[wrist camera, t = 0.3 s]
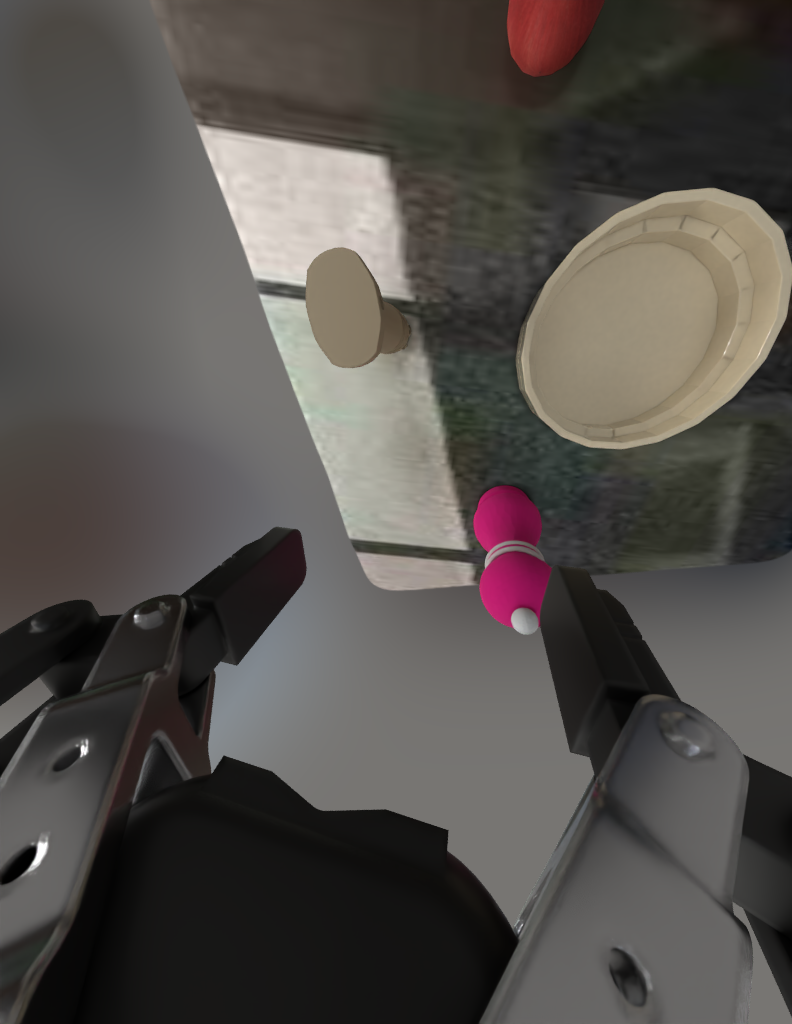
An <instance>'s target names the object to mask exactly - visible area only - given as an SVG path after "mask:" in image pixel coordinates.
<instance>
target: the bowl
mask: <svg viewBox="0 0 792 1024" xmlns="http://www.w3.org/2000/svg"><path fill="white" fill-rule="evenodd" d="M791 286H792V263H791V259H790V255H789V251H788V248H787V244H786V240H785V236H784V232H783V230H782V229H781V228H780V227H779V226H778V225H777V224H776V223H775V222H774V220H773V219H772V218H771V217H770V216H769V215H768V214H767V213H766V212H765V211H764V210H763V209H762V208H761V207H760V206H759V205H758V204H757V202H754V200H751V199H747V198H744V197H741V196H738V195H735V194H732V193H729V192H726V191H722V190H719V189H716V188H704V189H694V190H683V191H673V192H665V193H662V194H659V195H657V196H655V197H653V198H650V199H648V200H646V201H643V202H641V203H639V204H636V205H634V206H632V207H629V208H627V209H625V210H622V211H620V212H618V213H617V214H615V215H614V216H612V217H611V218H610V219H608V220H607V221H606V222H605V223H603V224H602V225H601V226H599V227H598V228H597V229H596V230H594V231H593V232H592V233H590V234H589V235H588V236H587V237H585V238H584V239H583V240H582V241H580V242H579V243H578V244H577V245H576V246H575V247H574V248H573V249H572V250H571V252H570V253H569V254H568V255H567V257H566V258H565V259H564V260H563V262H562V263H561V264H560V265H559V267H558V268H557V269H556V270H555V272H554V273H553V274H552V275H551V277H550V278H549V279H548V280H547V282H546V283H545V284H544V285H543V287H542V288H541V289H540V290H539V292H538V293H537V294H536V296H535V298H534V300H533V302H532V304H531V307H530V309H529V311H528V313H527V315H526V318H525V320H524V322H523V324H522V326H521V329H520V335H519V341H518V347H517V353H516V368H517V375H518V382H519V388H520V390H521V392H522V394H523V396H524V398H525V400H526V402H527V404H528V406H529V408H530V409H531V411H532V412H533V413H534V414H535V415H536V416H538V417H539V418H540V419H541V420H542V421H543V422H544V423H545V424H547V425H548V426H549V427H550V428H551V429H552V430H554V431H555V432H556V433H557V434H558V435H560V436H561V437H564V438H566V439H569V440H571V441H574V442H577V443H579V444H582V445H584V446H587V447H592V448H608V449H626V448H631V447H636V446H641V445H646V444H651V443H656V442H659V441H662V440H664V439H666V438H669V437H671V436H673V435H675V434H677V433H679V432H682V431H684V430H686V429H688V428H690V427H693V426H695V425H697V424H698V423H700V422H701V421H702V420H704V419H705V418H706V417H708V416H709V415H710V414H712V413H713V412H714V411H716V410H717V409H718V408H720V407H721V406H722V405H724V404H725V403H726V402H728V401H729V400H730V399H732V398H733V396H735V395H736V394H737V393H738V391H739V390H740V389H741V388H742V387H743V386H744V384H745V383H746V382H747V381H748V380H749V379H750V377H751V376H752V375H753V374H754V373H755V372H756V370H757V369H758V368H759V367H760V366H761V365H762V363H763V362H764V361H765V360H766V358H767V356H768V354H769V352H770V350H771V348H772V346H773V344H774V342H775V340H776V338H777V336H778V334H779V332H780V330H781V328H782V326H783V324H784V322H785V320H786V318H787V317H786V316H787V312H788V305H789V299H790V292H791Z"/></svg>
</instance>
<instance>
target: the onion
mask: <svg viewBox="0 0 792 1024" xmlns="http://www.w3.org/2000/svg"><path fill="white" fill-rule="evenodd" d="M603 4H604V0H509V9H508V18H507V31H508V39H509V45H510V51H511V56H512V57H513V59H514V60H515V62H516V63H517V65H518V66H519V68H520V69H521V70H522V72H524V73H526V74H529V75H531V76H533V77H539V76H547V75H551V74H553V73H554V72H556V71H558V70H559V69H561V68H562V67H564V66H566V65H567V64H569V62H570V61H571V60H572V59H573V57H574V56H575V55H576V54H577V52H578V51H579V50H580V48H581V47H582V46H583V45H584V43H585V42H586V40H587V38H588V36H589V35H590V33H591V31H592V29H593V26H594V24H595V22H596V20H597V17H598V15H599V13H600V11H601V8H602V6H603Z"/></svg>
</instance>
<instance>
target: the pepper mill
mask: <svg viewBox="0 0 792 1024" xmlns="http://www.w3.org/2000/svg"><path fill="white" fill-rule="evenodd" d="M541 530H542V523H541V517H540V513H539V511H538V509H537V507H536V506H535V505H534V504H533V503H532V502H531V501H530V500H529V499H528V497H527V495H526V494H525V493H524V492H523V491H522V490H520V489H518V488H516V487H513V486H508V485H503V486H497V487H494V488H492V489H490V490H488V491H487V492H486V493H485V494H484V495H483V496H482V497H481V499H480V501H479V503H478V509H477V511H476V513H475V516H474V531H475V535H476V537H477V539H478V541H479V542H480V544H481V545H482V547H483V548H484V549H485V550H486V551H488V552H489V553H488V554H487V556H486V560H485V570H484V572H483V574H482V576H481V581H480V594H481V598H482V601H483V604H484V606H485V607H486V609H487V611H488V612H489V613H490V614H491V615H492V616H493V618H495V619H496V620H497V621H499V622H500V623H502V624H504V625H506V626H509V627H512V628H515V629H516V631H518V632H520V633H522V634H531V633H534V632H535V631H536V630H537V628H538V627H540V609H541V604H542V601H543V598H544V594H545V591H546V587H547V584H548V580H549V577H550V574H551V570H552V568H551V567H550V566H549V565H547V564H546V563H545V561H544V558H543V555H542V554H541V552H540V551H539V550H538V549H537V548H536V547H535V546H536V544H537V543H538V541H539V539H540V535H541Z"/></svg>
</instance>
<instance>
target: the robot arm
mask: <svg viewBox="0 0 792 1024" xmlns="http://www.w3.org/2000/svg"><path fill="white" fill-rule="evenodd" d="M305 576H306V561H305V555H304V548H303V542H302V537H301V533H300V531H299V530H297V529H290V528H282V527H275V528H273V529H272V530H270V531H269V532H268V533H267V534H265V535H264V536H263V537H262V538H260V539H258V540H256V541H254V542H252V543H250V544H248V545H245V546H244V547H242V548H241V549H240V550H239V551H237V552H236V553H235V554H233V555H232V558H228V559H227V560H226V561H224V562H223V563H222V565H221V566H220V565H219V566H218V567H217V568H215V569H214V570H213V571H212V572H210V573H209V574H208V575H206V576H205V577H204V578H202V579H201V580H200V581H199V582H197V583H196V584H195V585H194V586H192V587H191V588H190V589H188V590H187V591H186V592H184V593H183V594H182V595H181V596H179V595H162V596H158V597H155V598H151V599H148V600H146V601H144V602H142V603H140V604H138V605H136V606H134V607H133V608H131V609H130V610H128V611H127V612H126V613H125V614H123V615H110V616H99V614H98V613H97V611H96V609H95V608H94V606H93V604H92V603H91V602H89V601H87V600H73V601H68V602H64V603H60V604H56V605H54V606H51V607H48V608H46V609H44V610H41V611H40V612H38V613H36V614H34V615H32V616H30V617H28V618H27V619H25V620H23V621H21V622H20V623H18V624H16V625H15V626H13V627H12V628H10V629H8V630H6V631H5V632H3V633H1V634H0V706H1V705H2V704H4V703H5V702H6V701H8V700H9V699H10V698H12V697H13V696H14V695H16V694H17V693H18V692H20V691H21V690H22V689H23V688H25V687H26V686H28V685H29V684H30V683H32V682H33V681H34V680H36V679H37V678H38V677H40V679H41V680H42V681H43V683H44V684H45V685H46V686H47V687H48V689H49V690H50V691H51V692H52V694H53V696H52V697H51V698H50V699H49V700H47V701H46V702H45V703H44V704H42V705H41V706H40V707H39V708H37V709H36V710H35V711H34V712H33V713H31V714H30V715H29V716H28V717H27V718H25V720H23V721H22V722H21V723H19V724H18V725H17V726H16V727H14V728H13V729H12V730H11V731H10V732H8V733H7V734H6V735H5V736H3V737H2V738H1V739H0V1024H748V1014H749V1003H750V991H751V980H752V966H753V952H752V942H751V938H750V934H749V931H748V929H747V927H746V926H745V925H744V924H743V923H742V922H741V921H740V920H739V919H738V918H737V917H736V916H735V915H734V913H733V906H732V901H733V902H734V903H736V904H737V905H739V906H740V907H742V908H743V909H744V911H745V913H746V916H747V918H748V920H749V922H750V925H751V927H752V929H753V931H754V934H755V936H756V938H757V940H758V942H759V945H760V947H761V949H762V951H763V954H764V956H765V958H766V960H767V963H768V965H769V967H770V969H771V971H772V974H773V976H774V978H775V980H776V983H777V985H778V987H779V989H780V992H781V994H782V996H783V998H784V1001H785V1003H786V1005H787V1007H788V1009H789V1012H790V1014H791V1016H792V777H790V776H788V775H786V774H783V773H782V772H779V771H777V770H775V769H773V768H771V767H769V766H766V765H764V764H762V763H760V762H758V761H756V760H754V759H752V758H749V757H748V756H746V755H744V754H742V753H741V751H740V749H739V748H738V746H737V745H736V744H735V742H734V741H733V740H732V739H731V737H730V736H729V735H728V734H727V733H726V732H725V731H724V730H723V729H722V728H721V727H719V726H718V725H717V724H716V723H715V722H714V721H713V720H711V719H710V718H709V717H707V716H706V715H705V714H703V713H701V712H700V711H699V710H697V709H695V708H694V707H692V706H690V705H688V704H686V703H684V702H682V701H681V700H680V698H679V697H678V695H677V693H676V692H675V690H674V688H673V687H672V685H671V683H670V682H669V680H668V679H667V677H666V675H665V673H664V672H663V670H662V668H661V667H660V665H659V664H658V662H657V660H656V658H655V657H654V655H653V653H652V652H651V650H650V648H649V647H648V645H647V644H646V642H645V641H644V640H642V635H641V634H640V632H639V630H638V629H637V627H636V626H634V624H633V623H634V622H633V620H632V619H631V617H630V616H629V614H628V612H627V611H626V609H625V607H624V606H623V605H622V604H621V603H620V602H619V601H618V600H617V599H616V598H614V597H613V596H612V595H611V594H610V593H609V592H608V591H606V590H599V589H596V587H595V585H594V583H593V581H592V579H591V577H590V575H589V573H588V572H587V570H585V569H581V568H574V567H566V566H559V565H555V566H554V567H553V568H552V570H551V574H550V577H549V580H548V584H547V587H546V591H545V594H544V598H543V601H542V604H541V609H540V627H541V632H542V636H543V640H544V644H545V648H546V653H547V656H548V661H549V665H550V669H551V674H552V678H553V681H554V686H555V690H556V694H557V699H558V703H559V707H560V711H561V716H562V719H563V724H564V728H565V732H566V737H567V741H568V745H569V749H570V752H571V753H575V754H579V755H583V756H587V757H590V760H591V763H592V767H593V770H594V775H593V777H592V779H591V781H590V783H589V785H588V786H587V788H586V790H585V792H584V794H583V796H582V798H581V800H580V802H579V804H578V806H577V807H576V809H575V812H574V813H573V815H572V817H571V819H570V821H569V823H568V825H567V827H566V829H565V831H564V832H563V834H562V836H561V838H560V840H559V842H558V844H557V846H556V848H555V850H554V852H553V854H552V856H551V857H550V859H549V861H548V863H547V865H546V867H545V869H544V870H543V872H542V874H541V876H540V878H539V879H538V881H537V883H536V885H535V887H534V888H533V890H532V892H531V894H530V896H529V898H528V899H527V902H526V903H525V905H524V907H523V909H522V911H521V913H520V915H519V917H518V919H517V920H516V922H515V924H514V926H513V928H512V927H511V925H510V924H509V922H508V920H507V918H506V917H505V915H504V914H503V912H502V911H501V909H500V908H499V906H498V905H497V903H496V902H495V900H494V899H493V897H492V896H491V894H490V893H489V892H488V891H487V889H486V888H485V887H484V886H483V884H482V883H481V882H480V881H479V880H478V878H477V877H476V876H475V875H474V874H473V873H472V872H471V871H470V870H469V869H468V868H467V867H466V866H465V865H464V864H463V863H462V862H461V861H460V860H458V859H457V858H456V857H455V856H453V855H452V854H451V853H449V852H448V851H447V844H448V830H446V829H443V828H440V827H437V826H434V825H431V824H428V823H425V822H422V821H419V820H416V819H413V818H410V817H407V816H404V815H401V814H397V813H395V812H392V811H389V810H349V811H348V810H347V811H321V810H318V809H316V808H314V807H313V806H312V805H311V804H309V803H308V802H307V801H306V800H305V799H304V798H302V797H301V796H300V795H299V794H298V793H297V792H295V791H294V790H293V789H292V788H291V787H290V786H288V785H287V784H286V783H285V782H284V781H282V780H281V779H280V778H279V777H278V776H277V775H275V774H274V773H273V772H272V771H269V770H266V769H262V768H259V767H257V766H254V765H251V764H248V763H245V762H241V761H239V760H236V759H233V758H229V757H226V756H223V758H222V759H221V761H220V762H219V764H218V765H217V767H216V769H215V770H214V772H213V773H212V774H211V765H210V759H209V753H208V741H209V731H210V723H211V714H212V705H213V697H214V688H215V678H216V674H215V671H214V668H215V667H216V666H217V665H218V663H219V662H220V661H221V662H225V663H229V664H233V665H238V664H239V663H240V661H241V660H242V659H243V657H244V656H245V655H246V654H247V652H248V651H249V650H250V649H251V647H252V646H253V645H254V644H255V642H256V641H257V640H258V639H259V637H260V636H261V635H262V634H263V632H264V631H265V630H266V629H267V627H268V626H269V625H270V624H271V622H272V621H273V620H274V619H275V617H276V616H277V615H278V614H279V612H280V611H281V610H282V609H283V607H284V606H285V605H286V604H287V602H288V601H289V600H290V598H291V597H292V596H293V595H294V594H295V592H296V591H297V590H298V589H299V587H300V586H301V585H302V583H303V581H304V579H305Z"/></svg>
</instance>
